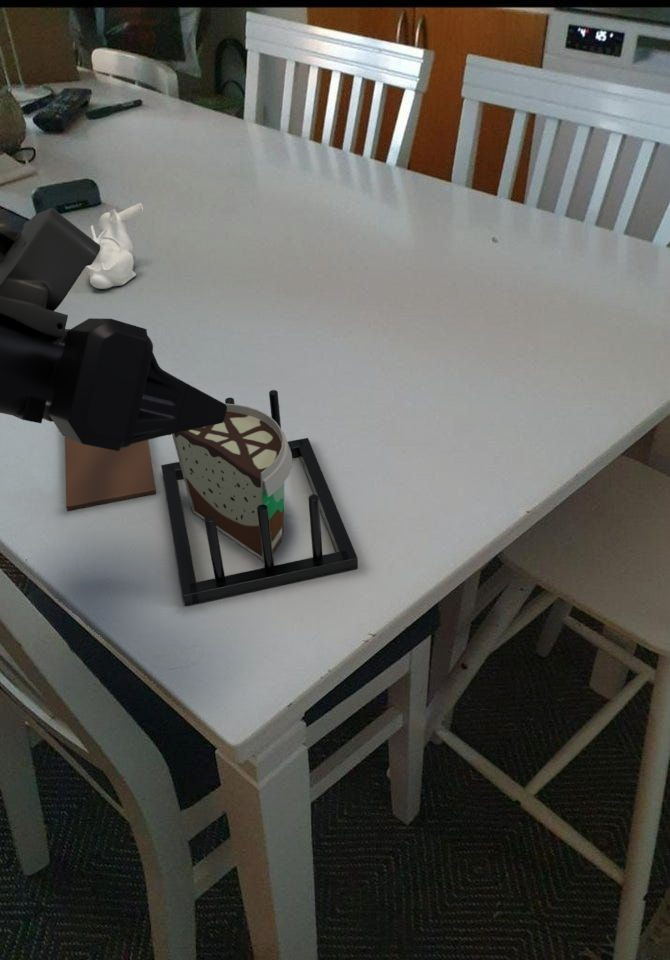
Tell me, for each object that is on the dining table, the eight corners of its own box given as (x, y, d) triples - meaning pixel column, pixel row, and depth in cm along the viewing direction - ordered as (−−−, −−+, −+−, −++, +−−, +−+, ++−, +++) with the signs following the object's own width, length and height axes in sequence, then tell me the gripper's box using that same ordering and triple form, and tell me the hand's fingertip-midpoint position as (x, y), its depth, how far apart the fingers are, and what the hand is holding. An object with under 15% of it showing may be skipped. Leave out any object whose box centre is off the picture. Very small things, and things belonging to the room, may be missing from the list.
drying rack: (185, 606, 64) (169, 535, 59) (163, 474, 77) (148, 407, 72) (358, 568, 66) (356, 497, 61) (308, 447, 79) (304, 380, 74)
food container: (328, 531, 70) (323, 438, 63) (276, 570, 66) (266, 476, 60) (233, 473, 76) (220, 383, 70) (182, 505, 73) (163, 414, 67)
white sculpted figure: (116, 255, 116) (101, 187, 110) (165, 258, 114) (153, 190, 108) (77, 293, 107) (59, 222, 101) (130, 297, 105) (115, 225, 99)
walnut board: (67, 510, 73) (65, 506, 73) (65, 424, 84) (64, 420, 83) (156, 493, 75) (155, 489, 74) (143, 410, 85) (142, 407, 85)
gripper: (-4, 160, 34) (298, 276, 43) (-72, 208, 49) (163, 286, 59) (-60, 416, 35) (251, 478, 44) (-111, 386, 50) (128, 436, 59)
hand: (191, 406), depth 51 cm, fingers open, 9 cm apart
